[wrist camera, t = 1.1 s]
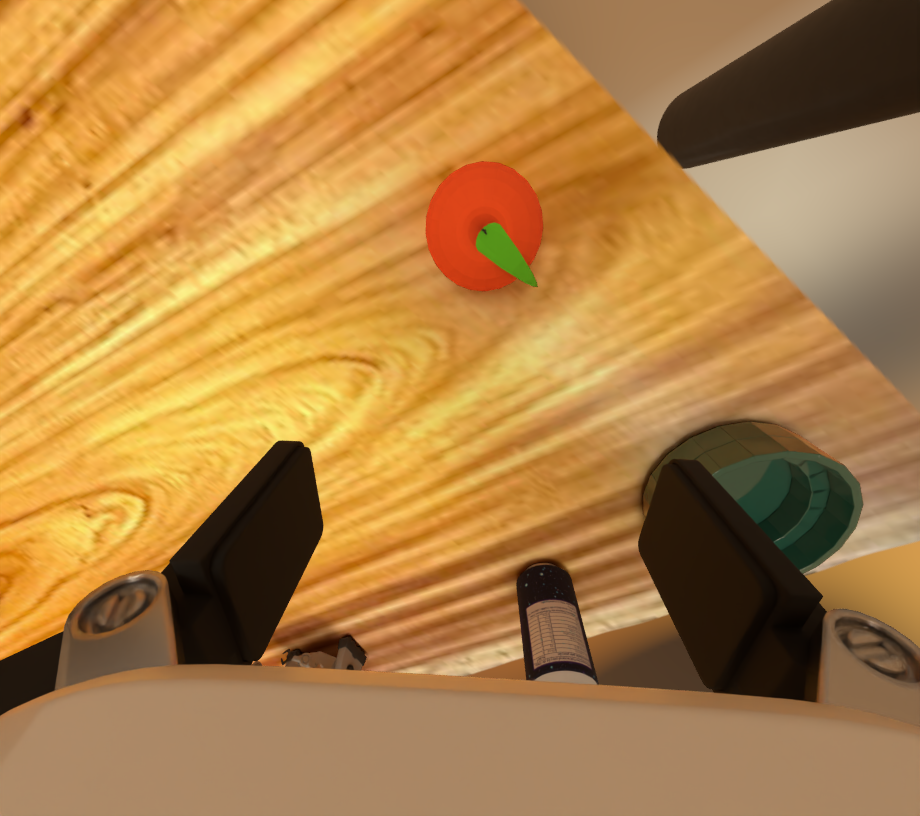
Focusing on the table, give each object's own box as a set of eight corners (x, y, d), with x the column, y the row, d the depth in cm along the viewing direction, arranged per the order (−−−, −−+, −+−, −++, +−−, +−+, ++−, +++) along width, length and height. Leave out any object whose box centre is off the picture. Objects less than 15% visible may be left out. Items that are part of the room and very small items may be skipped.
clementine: (567, 236, 26) (596, 242, 19) (494, 313, 28) (499, 340, 22) (481, 141, 23) (482, 112, 17) (410, 233, 26) (389, 237, 20)
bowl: (754, 385, 30) (803, 414, 25) (840, 486, 34) (896, 527, 29) (608, 490, 35) (627, 530, 30) (697, 567, 39) (726, 613, 34)
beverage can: (504, 578, 40) (514, 707, 30) (541, 549, 38) (566, 677, 28) (543, 602, 42) (565, 734, 31) (581, 575, 40) (619, 706, 29)
